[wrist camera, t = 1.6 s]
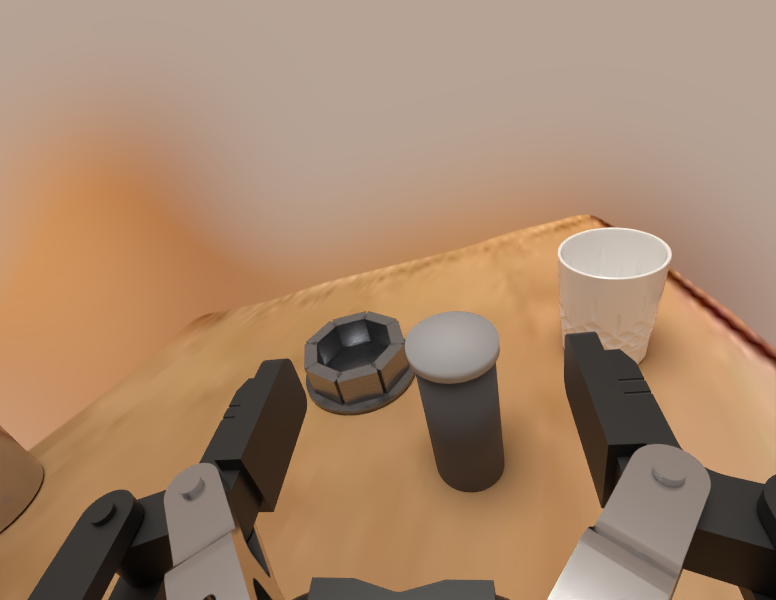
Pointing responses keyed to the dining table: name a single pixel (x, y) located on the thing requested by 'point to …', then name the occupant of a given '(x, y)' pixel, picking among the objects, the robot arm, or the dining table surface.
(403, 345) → the octagonal ring holder
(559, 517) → the dining table surface
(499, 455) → the white-topped grey cylinder
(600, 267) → the white cup
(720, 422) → the dining table surface
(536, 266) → the dining table surface
